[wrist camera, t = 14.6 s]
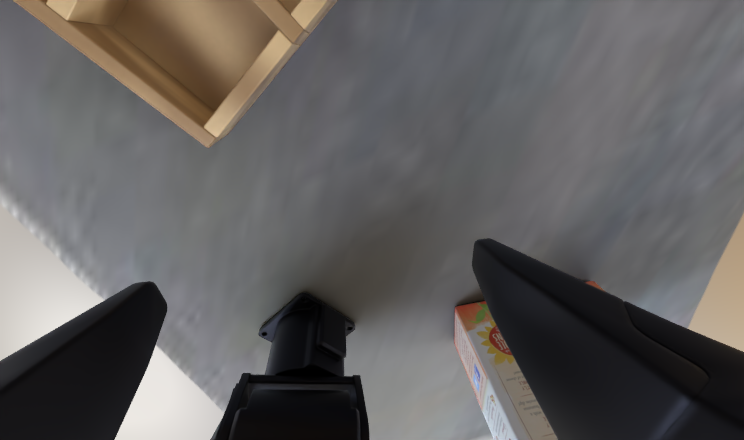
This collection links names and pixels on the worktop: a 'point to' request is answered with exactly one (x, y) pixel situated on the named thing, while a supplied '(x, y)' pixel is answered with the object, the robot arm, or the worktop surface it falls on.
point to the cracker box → (498, 377)
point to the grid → (187, 50)
